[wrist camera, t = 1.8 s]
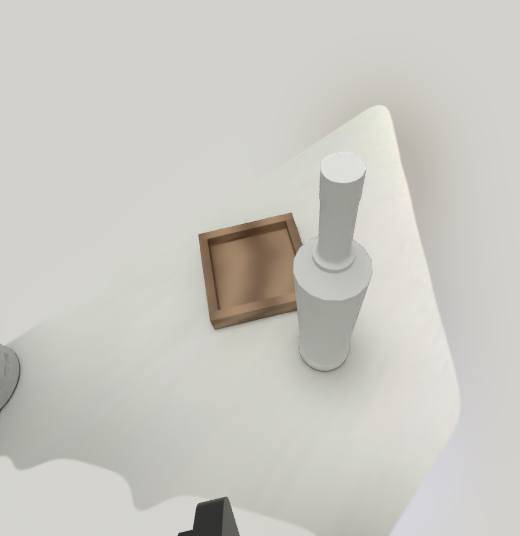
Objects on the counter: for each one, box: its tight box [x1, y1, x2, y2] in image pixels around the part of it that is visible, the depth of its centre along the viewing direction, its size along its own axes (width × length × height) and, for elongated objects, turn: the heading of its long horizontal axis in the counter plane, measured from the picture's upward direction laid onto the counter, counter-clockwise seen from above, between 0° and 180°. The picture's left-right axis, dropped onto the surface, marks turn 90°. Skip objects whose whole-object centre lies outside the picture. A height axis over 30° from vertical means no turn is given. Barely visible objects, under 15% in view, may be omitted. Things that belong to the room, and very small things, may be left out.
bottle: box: [293, 152, 373, 371], centre depth 27 cm, size 5×5×25 cm
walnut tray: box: [198, 213, 303, 329], centre depth 42 cm, size 12×12×2 cm
